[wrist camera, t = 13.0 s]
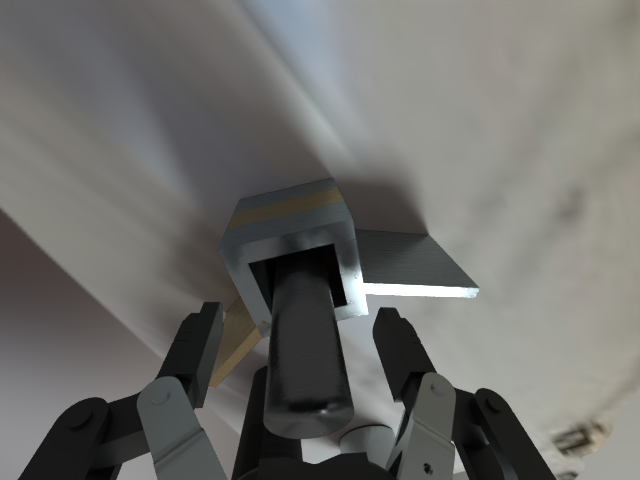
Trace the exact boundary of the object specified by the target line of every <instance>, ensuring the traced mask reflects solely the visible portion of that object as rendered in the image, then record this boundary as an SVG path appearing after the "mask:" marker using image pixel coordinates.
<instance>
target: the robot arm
mask: <svg viewBox="0 0 640 480" xmlns="http://www.w3.org/2000/svg"><path fill="white" fill-rule="evenodd" d="M222 334H223V312H222V303H221V302H204V304H203V306H202V309H201V311H200V313H191V314H190V315H189V316H188V317H187V318H186V319H185V320H184V321H183V322H182V324H181V326H180V328H179V330H178V333H177V334H176V337H175V339H174V342H173V343H172V345H171V347H170V349H169V352H168V354H167V356H166V358H165V360H164V362H163V365H162V367H161V369H160V371H159V373H158V375H157V377H156V378H155V380H154V381H152V382H151V383H149V384H148V385H147V386H146V387H145V388H144V389H143V390H142V391H141V392H139V393H137V394H135V395H132V396H129V397H126V398H123V399H120V400H117V401H113V402H110V403H107V402H106V401H105V400H104V399H102V398H98V397H93V398H88V399H85V400H82V401H79V402H77V403H76V404H74V405H72V406H71V407H70V408H68V409H67V410H65V411H64V412H63V413H62V414H61V415H60V416H59V418H58V419H57V420H56V422H55V423H54V425H53V426H52V428H51V429H50V431H49V433H48V434H47V436H46V437H45V439H44V440H43V442H42V443H41V445H40V446H39V448H38V449H37V451H36V452H35V454H34V456H33V457H32V459H31V460H30V462H29V464H28V465H27V466H26V468H25V469H24V471H23V473H22V474H21V476H20V477H19V479H18V480H116V479H117V476H118V474H119V471H120V469H121V466H122V463H124V462H126V461H128V460H131V459H134V458H136V457H138V456H141V455H143V454H146V453H148V452H151V455H152V458H153V462H154V468H155V472H156V476H157V479H158V480H228V479H227V477H226V475H225V473H224V470H223V468H222V466H221V464H220V462H219V460H218V457H217V455H216V453H215V451H214V449H213V447H212V444H211V442H210V440H209V438H208V436H207V434H206V432H205V430H204V429H203V428H202V427H201V426H200V424H199V421H198V419H197V417H196V415H195V413H194V409H195V408H202V407H203V404H204V400H205V397H206V393H207V389H208V386H209V382H210V378H211V375H212V371H213V368H214V364H215V360H216V357H217V353H218V349H219V346H220V342H221V339H222ZM373 339H374V342H375V345H376V348H377V351H378V354H379V357H380V360H381V363H382V366H383V369H384V372H385V375H386V378H387V381H388V384H389V387H390V390H391V393H392V396H393V399H394V402H403V404H404V406H405V409H404V412H403V415H402V418H401V422H400V425H399V428H398V432H397V435H396V438H395V434H394V432H393V430H391V429H390V428H387V427H383V426H368V427H363V428H359V429H356V430H353V431H351V432H349V433H347V434H346V435H345V436H343V438H342V439H341V440H340V451H341V454H339V455H337V456H335V457H332V458H330V459H327V460H325V461H323V462H320V463H318V464H311V463H307V462H303V461H300V460H296V459H292V458H288V457H281V458H266V459H259V467H258V468H255V469H253V470H251V471H249V472H247V473H246V474H244V475H243V476H242V477H240V478H239V479H238V480H452V478H453V469H454V459H455V446H456V449H457V451H458V453H459V456H460V458H461V461H462V463H463V465H464V468H465V470H466V473H467V475H468V477H469V480H556V478H555V477H554V475H553V474H552V472H551V470H550V469H549V467H548V466H547V464H546V463H545V461H544V459H543V458H542V456H541V455H540V453H539V452H538V450H537V448H536V447H535V445H534V444H533V442H532V441H531V439H530V438H529V436H528V434H527V433H526V431H525V430H524V428H523V427H522V425H521V423H520V422H519V420H518V419H517V417H516V416H515V414H514V413H513V411H512V409H511V408H510V406H509V405H508V403H507V402H506V401H505V400H504V399H503V398H502V397H501V396H500V395H499V394H497V393H496V392H494V391H492V390H490V389H486V388H481V389H478V390H477V391H476V393H475V394H473V393H470V392H467V391H463V390H460V389H457V388H454V387H453V386H452V384H451V383H450V382H449V381H448V380H447V379H446V378H445V377H443V376H442V375H440V374H437V372H436V370H435V368H434V366H433V364H432V362H431V360H430V359H429V357H428V355H427V353H426V351H425V349H424V347H423V345H422V344H421V341H420V339H419V337H417V333H416V331H415V329H414V328H413V326H412V325H411V324H410V323H409V322H408V321H407V320H406V319H405V318H401V317H400V315H399V313H398V311H397V309H396V308H390V307H381V308H380V309H379V311H378V314H377V317H376V320H375V323H374V326H373ZM451 441H454V444H455V446H454V444H452V443H451Z"/></svg>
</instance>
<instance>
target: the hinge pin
mask: <svg viewBox="0 0 640 480" xmlns="http://www.w3.org/2000/svg"><path fill="white" fill-rule="evenodd" d="M353 415H354V406H353V401H352V396H351V391H350V386H349V381H348V376H347V371H346V366H345V361H344V356H343V351H342V346H341V341H340V336H339V331H338V326H337V321H336V316H335V311H334V306H333V300H332V295H331V290H330V285H329V280H328V275H327V270H326V265H325V260H324V255H323V250H322V246H319V247H315V248H311V249H307V250H302V251H298V252H294V253H290V254H285V255H281V256H277V259H276V271H275V283H274V295H273V307H272V320H271V332H270V344H269V356H268V369H267V381H266V393H265V405H264V418H263V422H264V425H265V427H266V428H267V429H268V430H269V431H270V432H272V433H273V434H276V435H278V436H281V437H285V438H291V439H309V438H316V437H321V436H325V435H328V434H331V433H333V432H335V431H338V430H339V429H341V428H343V427H344V426H345V425H347V424H348V423H349V422H350V420H351V419H352V417H353Z"/></svg>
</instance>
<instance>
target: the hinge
mask: <svg viewBox="0 0 640 480" xmlns="http://www.w3.org/2000/svg"><path fill="white" fill-rule="evenodd" d="M328 244H332V247H328V248H324V249H322V250H323V255H324V260H325V265H326V270H327V275H328V280H329V285H330V290H331V295H332V300H333V306H334V311H335V316H336V321H339V320H344V319H348V318H352V317H357V316H361V315H366V314H368V310H367V304H366V297H365V294H393V295H420V296H447V297H475V296H476V294H477V292H478V291H479V289H480V288H479V287H478V286H477V285H476V284H475V283H474V282H473V280H472V279H471V278H470V277H469V276H468V275H467V274H466V273H465V272H464V271H463V270H462V269H461V268H460V267H459V266H458V265H457V264H456V263H455V261H454V260H453V259H452V258H451V257H450V256H449V255H448V254H447V253H446V252H445V251H444V250H443V249H442V248H441V247H440V246H439V245H438V244H437V242H436V241H435V240H434V239H433V238H432V237H431V236H430V235H421V234H408V233H394V232H381V231H368V230H355V229H354V224H353V218H352V216H351V214H350V212H349V210H348V208H347V205H346V203H345V201H344V199H343V197H342V195H341V193H340V191H339V189H338V187H337V185H336V182H335V180H334V178H333V177H332V178H328V179H324V180H320V181H316V182H312V183H307V184H303V185H299V186H295V187H291V188H287V189H283V190H279V191H274V192H270V193H266V194H262V195H258V196H254V197H250V198H245V199H241V200H240V201H239V203H238V205H237V207H236V209H235V212H234V214H233V216H232V218H231V221H230V223H229V225H228V227H227V229H226V232H225V234H224V236H223V238H222V240H221V243H220V245H219V247H218V249H217V252H218V254H219V256H220V258H221V259H222V261H223V263H224V265H225V267H226V269H227V271H228V273H229V275H230V277H231V279H232V281H233V283H234V285H235V286H236V288H237V290H238V292H239V294H240V296H239V298H238V299H237V300H236V301H235V303H234V304H233V305H232V306H231V308H230V309H229V310H228V311H227V313H226V315H225V319H224V322H223V334H222V339H221V342H220V346H219V349H218V353H217V357H216V360H215V364H214V368H213V371H212V375H211V378H210V382H209V386H212V387H217V386H218V385H219V383H220V382H221V381H222V380H223V379H224V378H225V377H226V376H227V375H228V374H229V373H230V372H231V370H232V369H233V368H234V367H235V366H236V365H237V364H238V363H239V362H240V361H241V360H242V359H243V357H244V356H245V355H246V354H247V353H248V352H249V351H250V350H251V349H252V348H253V347H254V346H255V345H256V343H257V342H258V341H259V340H260V339H261V338H265V337H269V336H270V332H271V320H272V307H273V295H274V283H275V271H276V259H277V256H281V255H285V254H290V253H294V252H298V251H302V250H307V249H311V248H315V247H319V246H324V245H328Z"/></svg>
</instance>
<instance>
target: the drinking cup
mask: <svg viewBox="0 0 640 480" xmlns="http://www.w3.org/2000/svg"><path fill="white" fill-rule="evenodd" d="M267 369H268V366H266V367H263V368H261V369H260V370H258V371H257V372H256V373H255V375H254V379H253V383H252V388H251V392H250V397H249V402H248V406H247V411H246V415H245V420H244V424H243V429H242V433H241V438H240V443H239V447H238V452H237V456H236V461H235V465H234V469H233V474H232V479H231V480H238V479H239V478H240V477H242V476H243V475H244V474H246V473H247V472H249V471H251V470H253V469H255V468H258V467H259V459H266V458H281V457H288V458H292V459H296V460H300V461H303V458H302V448H301V439H291V438H285V437H281V436H278V435H276V434H273V433H272V432H270V431H269V430H268V429H267V428H266V427H265V425H264V422H263V418H264V405H265V393H266V381H267Z"/></svg>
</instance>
